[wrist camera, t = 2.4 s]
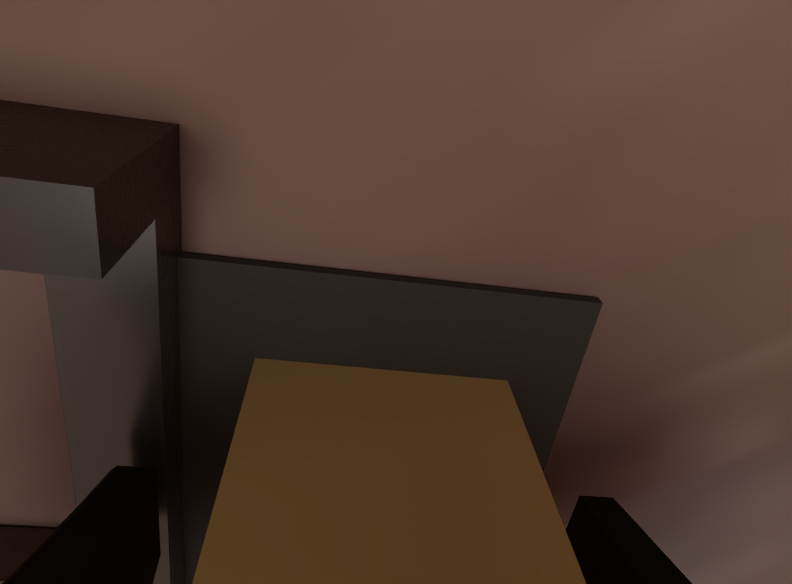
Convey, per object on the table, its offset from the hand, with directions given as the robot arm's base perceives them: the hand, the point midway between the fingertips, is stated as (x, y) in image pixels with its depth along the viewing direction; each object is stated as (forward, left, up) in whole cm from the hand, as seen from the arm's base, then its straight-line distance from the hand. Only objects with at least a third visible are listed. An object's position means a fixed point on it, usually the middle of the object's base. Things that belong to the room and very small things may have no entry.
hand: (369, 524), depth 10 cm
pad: (0, 0, -2) cm, 2 cm away
